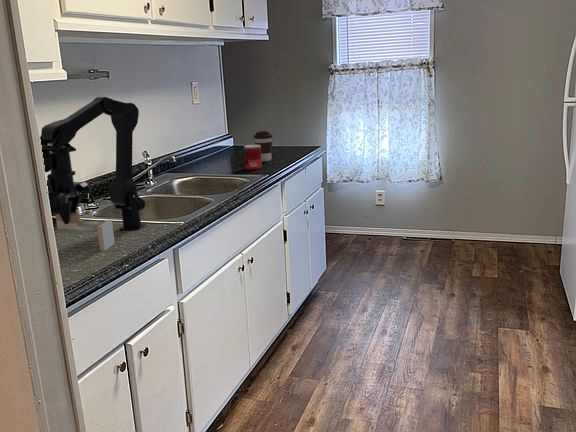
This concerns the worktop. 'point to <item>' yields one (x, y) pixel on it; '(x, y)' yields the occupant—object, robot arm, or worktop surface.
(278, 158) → the worktop surface
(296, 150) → the worktop surface
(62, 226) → the turner
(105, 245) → the tile
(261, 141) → the coffee cup
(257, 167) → the canned food
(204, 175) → the worktop surface
